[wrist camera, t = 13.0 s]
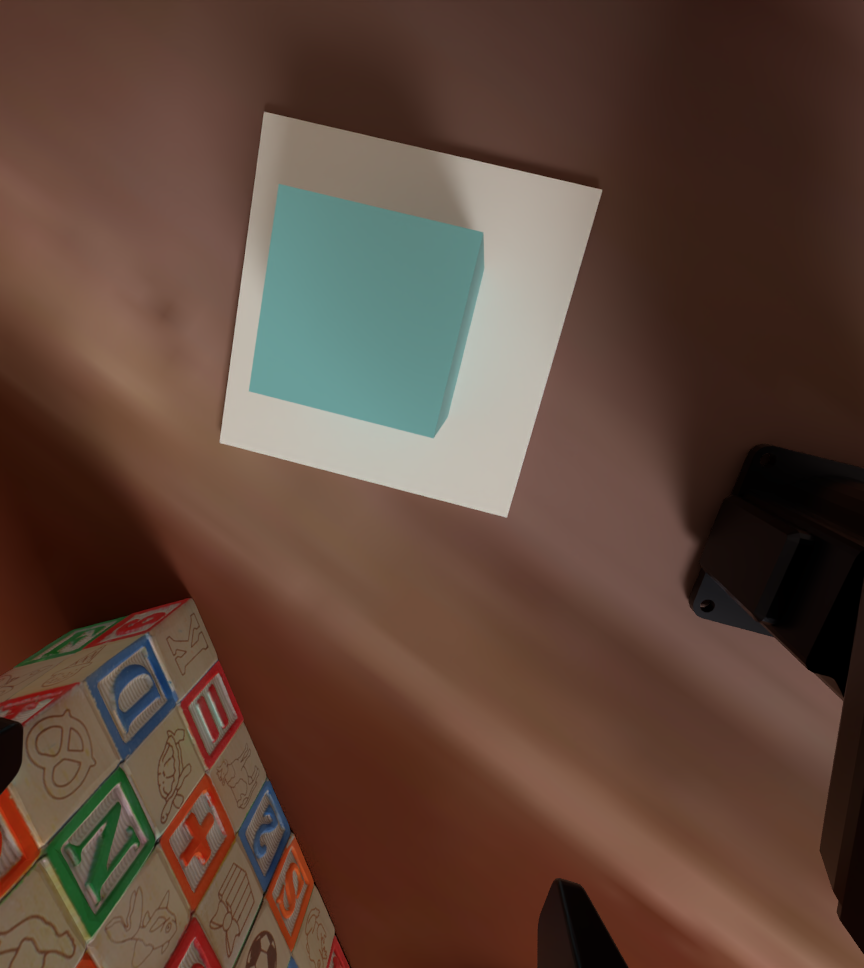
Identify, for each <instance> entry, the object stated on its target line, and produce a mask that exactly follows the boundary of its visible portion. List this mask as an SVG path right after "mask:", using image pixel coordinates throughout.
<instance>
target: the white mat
mask: <svg viewBox="0 0 864 968" xmlns="http://www.w3.org/2000/svg"><path fill="white" fill-rule="evenodd" d="M279 184H282V185H286V186H290V187H294V188H298V189H303V190H307V191H311V192H315V193H320V194H324V195H328V196H332V197H337V198H341V199H345V200H349V201H353V202H358V203H362V204H366V205H370V206H375V207H379V208H383V209H387V210H391V211H396V212H400V213H404V214H408V215H413V216H417V217H421V218H425V219H429V220H434V221H438V222H442V223H446V224H451V225H455V226H459V227H463V228H468V229H472V230H476V231H480V232H483V235H484V272H483V277H482V281H481V285H480V289H479V293H478V297H477V301H476V305H475V309H474V313H473V317H472V321H471V325H470V329H469V333H468V337H467V341H466V345H465V349H464V353H463V358H462V362H461V366H460V370H459V374H458V378H457V382H456V386H455V390H454V394H453V398H452V402H451V406H450V410H449V414H448V418H447V419H446V421H445V422H444V424H443V425H442V427H441V428H440V430H439V431H438V432H437V434H436V435H435V437H434V438H430V437H426V436H422V435H418V434H414V433H410V432H406V431H402V430H398V429H394V428H391V427H387V426H383V425H379V424H375V423H371V422H367V421H363V420H359V419H355V418H351V417H347V416H344V415H340V414H336V413H332V412H328V411H324V410H320V409H316V408H312V407H308V406H304V405H300V404H297V403H293V402H289V401H285V400H281V399H277V398H273V397H269V396H265V395H261V394H257V393H253V392H249V386H250V379H251V372H252V365H253V358H254V351H255V344H256V338H257V331H258V324H259V317H260V310H261V303H262V296H263V289H264V282H265V275H266V268H267V262H268V255H269V248H270V241H271V234H272V227H273V220H274V213H275V206H276V199H277V192H278V186H279ZM601 193H602V190H601V189H597V188H592V187H588V186H584V185H579V184H575V183H571V182H566V181H562V180H558V179H553V178H549V177H545V176H540V175H536V174H532V173H527V172H523V171H519V170H514V169H510V168H506V167H501V166H497V165H493V164H488V163H484V162H480V161H476V160H471V159H467V158H463V157H458V156H454V155H450V154H445V153H441V152H437V151H432V150H428V149H424V148H419V147H415V146H411V145H406V144H402V143H398V142H393V141H389V140H385V139H380V138H376V137H372V136H367V135H363V134H359V133H354V132H350V131H346V130H341V129H337V128H333V127H328V126H324V125H320V124H315V123H311V122H307V121H303V120H298V119H294V118H290V117H285V116H281V115H277V114H272V113H268V112H264V115H263V123H262V130H261V138H260V145H259V153H258V160H257V168H256V175H255V182H254V190H253V197H252V205H251V212H250V220H249V227H248V235H247V242H246V250H245V257H244V264H243V272H242V279H241V287H240V294H239V302H238V309H237V317H236V324H235V332H234V339H233V346H232V354H231V361H230V369H229V376H228V384H227V391H226V399H225V406H224V413H223V421H222V428H221V436H220V443H223V444H227V445H230V446H234V447H238V448H242V449H246V450H250V451H254V452H257V453H261V454H265V455H269V456H273V457H277V458H280V459H284V460H288V461H292V462H296V463H300V464H303V465H307V466H311V467H315V468H319V469H323V470H326V471H330V472H334V473H338V474H342V475H346V476H349V477H353V478H357V479H361V480H365V481H369V482H372V483H376V484H380V485H384V486H388V487H392V488H395V489H399V490H403V491H407V492H411V493H415V494H418V495H422V496H426V497H430V498H434V499H438V500H441V501H445V502H449V503H453V504H457V505H461V506H464V507H468V508H472V509H476V510H480V511H484V512H487V513H491V514H495V515H499V516H503V517H507V515H508V512H509V509H510V505H511V502H512V498H513V495H514V491H515V488H516V485H517V481H518V478H519V474H520V471H521V467H522V464H523V461H524V457H525V454H526V450H527V447H528V444H529V440H530V437H531V433H532V430H533V426H534V423H535V420H536V416H537V413H538V409H539V406H540V402H541V399H542V396H543V392H544V389H545V385H546V382H547V378H548V375H549V372H550V368H551V365H552V361H553V358H554V354H555V351H556V348H557V344H558V341H559V337H560V334H561V330H562V327H563V324H564V320H565V317H566V313H567V310H568V306H569V303H570V300H571V296H572V293H573V289H574V286H575V282H576V279H577V276H578V272H579V269H580V265H581V262H582V258H583V255H584V252H585V248H586V245H587V241H588V238H589V235H590V231H591V228H592V224H593V221H594V217H595V214H596V211H597V207H598V204H599V200H600V197H601Z"/></svg>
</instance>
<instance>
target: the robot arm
mask: <svg viewBox="0 0 864 968" xmlns="http://www.w3.org/2000/svg"><path fill="white" fill-rule="evenodd" d="M766 453H769V455H770V460H769V462H768V463H767V464H765V465H763V466H761V464H760V459H761V457H762V456H763V455H764V454H766ZM699 563H700V565H701V567H702V568H701V570H700V573H699V575H698V578H697V580H696V583H695V585H694V588H693V590H692V592H691V595H690V597H689V605H690V607H691V609H692V610H693V611H694V612H695V613H696V615H697V616H699V617H701V618H704V619H708V620H711V621H715V622H719V623H723V624H727V625H730V626H734V627H738V628H742V629H745V630H749V631H753V632H757V633H761V634H764V635H768V636H772V637H775V638H776V639H777V640H778V641H779V642H780V643H781V644H782V645H783V646H784V647H785V648H786V649H787V650H788V651H789V652H790V653H791V654H792V655H793V656H794V657H795V658H796V659H798V660H799V661H800V662H801V663H802V664H803V665H804V666H805V667H806V668H807V669H808V670H810V671H811V672H813V673H815V674H816V675H817V676H818V677H819V678H820V679H821V680H822V681H823V682H824V683H825V684H826V685H827V686H828V687H829V688H830V689H831V690H832V691H833V692H834V693H835V694H836V695H838V696H839V697H840V698H841V699H842V700H843V707H842V713H841V719H840V725H839V731H838V738H837V744H836V750H835V756H834V762H833V768H832V774H831V780H830V786H829V793H828V799H827V805H826V811H825V817H824V823H823V830H822V837H821V844H820V853H821V856H822V859H823V862H824V865H825V868H826V871H827V874H828V877H829V880H830V883H831V886H832V889H833V892H834V894H835V895H836V897H837V899H838V901H839V902H838V907H837V914H838V917H839V919H840V921H841V922H842V924H843V925H844V927H845V928H846V930H847V931H848V932H849V934H850V935H851V937H852V938H853V940H854V941H855V942H856V944H857V945H858V947H859V948H860V950H861V951H862V952H863V954H864V468H861V467H857V466H853V465H849V464H845V463H841V462H837V461H833V460H829V459H825V458H821V457H817V456H813V455H809V454H805V453H801V452H797V451H793V450H789V449H785V448H781V447H777V446H773V445H769V444H760V445H757V446H755V447H753V448H752V449H751V450H750V451H749V453H748V455H747V457H746V459H745V462H744V464H743V467H742V469H741V472H740V474H739V477H738V479H737V482H736V484H735V487H734V489H733V491H732V494H731V495H730V496H729V497H727V498H726V499H724V501H723V503H722V506H721V508H720V510H719V513H718V515H717V518H716V520H715V523H714V525H713V528H712V530H711V533H710V535H709V538H708V540H707V543H706V545H705V548H704V550H703V553H702V555H701V558H700V560H699ZM704 600H710V603H709V605H708V606H706V607H700V604H701V603H702V601H704ZM23 734H24V729H23V726H22V724H21V723H20V722H17V721H14V720H10V719H7V718H3V717H0V795H1V794H2V793H3V791H4V790H5V789H6V788H7V787H8V785H9V784H10V783H11V782H12V781H13V779H14V778H15V777H16V775H17V773H18V772H19V770H20V767H21V764H22V759H23ZM538 968H628V966H627V964H626V962H625V960H624V959H623V957H622V955H621V953H620V952H619V950H618V948H617V946H616V945H615V943H614V941H613V939H612V937H611V936H610V934H609V932H608V930H607V929H606V927H605V925H604V923H603V921H602V920H601V918H600V916H599V914H598V913H597V911H596V909H595V907H594V905H593V904H592V902H591V900H590V898H589V897H588V895H587V893H586V891H585V890H584V888H583V887H582V886H581V885H580V884H578V883H575V882H571V881H568V880H564V879H561V878H557V879H555V880H554V881H553V883H552V885H551V888H550V890H549V893H548V896H547V898H546V901H545V903H544V906H543V908H542V911H541V914H540V917H539V923H538Z"/></svg>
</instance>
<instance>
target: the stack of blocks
mask: <svg viewBox="0 0 864 968" xmlns="http://www.w3.org/2000/svg"><path fill="white" fill-rule="evenodd" d="M0 717H3V718H7V719H10V720H14V721H17V722H20V723H21V724H22V726H23V729H24V734H23V759H22V764H21V767H20V770H19V772H18V773H17V775H16V777H15V778H14V779H13V781H12V782H11V783H10V784H9V785H8V787H7V788H6V789H5V790H4V791H3V793H2V794H1V795H0V968H350V967H349V965H348V962H347V960H346V958H345V956H344V954H343V952H342V949H341V947H340V944H339V943H338V941H337V938H336V936H335V935H334V934H335V929H334V926H333V924H332V922H331V919H330V917H329V914H328V912H327V910H326V907H325V905H324V903H323V901H322V898H321V896H320V894H319V892H318V890H317V888H316V886H315V885H314V881H313V878H312V875H311V873H310V870H309V868H308V866H307V863H306V861H305V858H304V856H303V854H302V851H301V849H300V847H299V844H298V842H297V840H296V837H295V835H294V834H293V833H292V832H291V831H290V827H289V824H288V822H287V820H286V817H285V815H284V813H283V811H282V808H281V806H280V804H279V802H278V800H277V797H276V794H275V792H274V790H273V788H272V785H271V783H270V781H269V780H268V778H267V777H266V773H265V770H264V768H263V765H262V763H261V761H260V759H259V756H258V754H257V752H256V749H255V747H254V745H253V743H252V740H251V738H250V735H249V733H248V731H247V729H246V726H245V724H244V722H243V716H242V714H241V711H240V709H239V706H238V704H237V702H236V699H235V697H234V695H233V692H232V690H231V688H230V685H229V683H228V681H227V678H226V676H225V674H224V671H223V669H222V667H221V665H220V662H219V660H218V658H217V654H216V652H215V649H214V647H213V644H212V642H211V640H210V637H209V635H208V633H207V630H206V628H205V626H204V623H203V621H202V619H201V616H200V614H199V612H198V609H197V607H196V605H195V603H194V601H193V599H192V598H187V599H183V600H180V601H176V602H172V603H168V604H165V605H161V606H157V607H153V608H150V609H146V610H142V611H139V612H135V613H132V614H130V615H128V616H125V617H121V618H117V619H113V620H109V621H105V622H102V623H98V624H94V625H90V626H86V627H83V628H78V629H74V630H72V631H70V632H68V633H66V634H65V635H63V636H61V637H60V638H58V639H57V640H55V641H54V642H52V643H50V644H49V645H47V646H46V647H44V648H43V649H41V650H40V651H38V652H37V653H35V654H34V655H32V656H31V657H29V658H27V659H26V660H24V661H23V662H21V663H19V664H18V665H17V666H15V667H14V668H13V669H12V670H10V671H8V672H7V673H5V674H3V675H2V676H0Z"/></svg>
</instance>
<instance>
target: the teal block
mask: <svg viewBox="0 0 864 968" xmlns="http://www.w3.org/2000/svg"><path fill="white" fill-rule="evenodd" d="M483 272H484V235H483V232H480V231H476V230H472V229H468V228H463V227H459V226H455V225H451V224H446V223H442V222H438V221H434V220H429V219H425V218H421V217H417V216H413V215H408V214H404V213H400V212H396V211H391V210H387V209H383V208H379V207H375V206H370V205H366V204H362V203H358V202H353V201H349V200H345V199H341V198H337V197H332V196H328V195H324V194H320V193H315V192H311V191H307V190H303V189H298V188H294V187H290V186H286V185H282V184H279V186H278V192H277V199H276V206H275V213H274V220H273V227H272V234H271V241H270V248H269V255H268V262H267V268H266V275H265V282H264V289H263V296H262V303H261V310H260V317H259V324H258V331H257V338H256V344H255V351H254V358H253V365H252V372H251V379H250V386H249V392H253V393H257V394H261V395H265V396H269V397H273V398H277V399H281V400H285V401H289V402H293V403H297V404H300V405H304V406H308V407H312V408H316V409H320V410H324V411H328V412H332V413H336V414H340V415H344V416H347V417H351V418H355V419H359V420H363V421H367V422H371V423H375V424H379V425H383V426H387V427H391V428H394V429H398V430H402V431H406V432H410V433H414V434H418V435H422V436H426V437H430V438H434V437H435V435H436V434H437V432H438V431H439V430H440V428H441V427H442V425H443V424H444V422H445V421H446V419H447V418H448V414H449V410H450V406H451V402H452V398H453V394H454V390H455V386H456V382H457V378H458V374H459V370H460V366H461V362H462V358H463V353H464V349H465V345H466V341H467V337H468V333H469V329H470V325H471V321H472V317H473V313H474V309H475V305H476V301H477V297H478V293H479V289H480V285H481V281H482V277H483Z"/></svg>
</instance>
